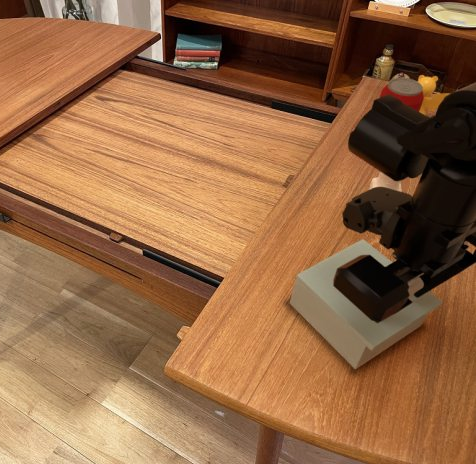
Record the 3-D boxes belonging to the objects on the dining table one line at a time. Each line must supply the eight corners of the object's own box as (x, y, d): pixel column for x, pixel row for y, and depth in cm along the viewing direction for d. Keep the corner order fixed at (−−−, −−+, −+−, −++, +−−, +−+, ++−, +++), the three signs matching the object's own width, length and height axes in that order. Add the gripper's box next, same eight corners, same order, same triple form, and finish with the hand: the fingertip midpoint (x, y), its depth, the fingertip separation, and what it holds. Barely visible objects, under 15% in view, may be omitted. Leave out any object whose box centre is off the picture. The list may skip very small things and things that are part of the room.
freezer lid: (440, 306, 60) (456, 278, 57) (371, 351, 56) (384, 325, 52) (361, 242, 68) (371, 215, 64) (295, 278, 64) (302, 251, 60)
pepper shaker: (389, 227, 77) (409, 178, 70) (362, 223, 78) (379, 173, 71) (388, 210, 80) (408, 161, 73) (362, 206, 80) (378, 157, 74)
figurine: (440, 100, 102) (457, 59, 96) (449, 133, 94) (468, 90, 88) (378, 94, 105) (391, 53, 98) (382, 126, 96) (396, 83, 90)
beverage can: (404, 139, 93) (427, 78, 85) (404, 160, 89) (427, 98, 80) (366, 133, 95) (384, 73, 86) (364, 153, 90) (383, 92, 82)
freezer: (420, 325, 64) (434, 301, 61) (355, 369, 60) (366, 346, 56) (352, 267, 71) (361, 243, 68) (289, 303, 67) (295, 279, 64)
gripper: (436, 134, 56) (394, 234, 67) (309, 194, 49) (286, 294, 60) (534, 188, 49) (470, 290, 60) (402, 266, 42) (357, 365, 53)
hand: (394, 307), depth 58 cm, fingers open, 6 cm apart
